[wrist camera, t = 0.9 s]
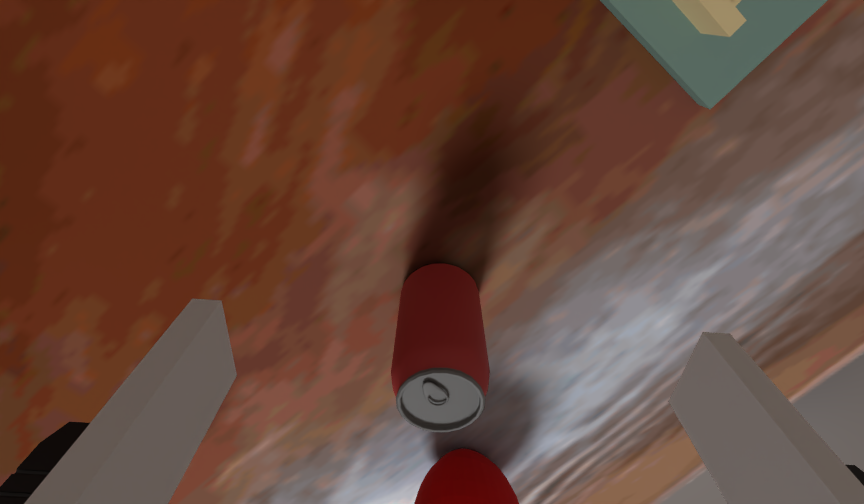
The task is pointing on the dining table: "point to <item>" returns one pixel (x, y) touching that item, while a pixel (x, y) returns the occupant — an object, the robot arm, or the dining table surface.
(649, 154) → the dining table surface
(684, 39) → the board
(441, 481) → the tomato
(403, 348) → the beer can
